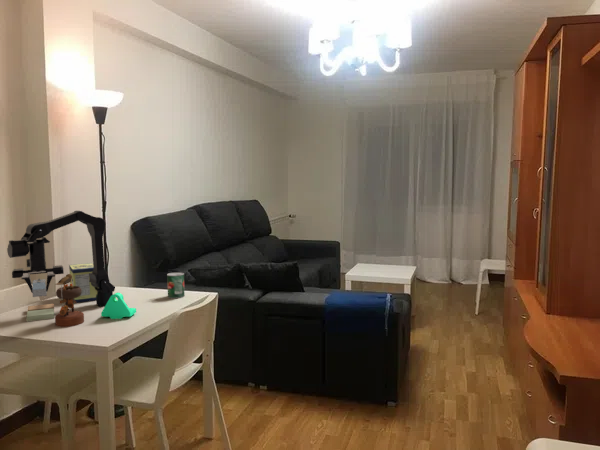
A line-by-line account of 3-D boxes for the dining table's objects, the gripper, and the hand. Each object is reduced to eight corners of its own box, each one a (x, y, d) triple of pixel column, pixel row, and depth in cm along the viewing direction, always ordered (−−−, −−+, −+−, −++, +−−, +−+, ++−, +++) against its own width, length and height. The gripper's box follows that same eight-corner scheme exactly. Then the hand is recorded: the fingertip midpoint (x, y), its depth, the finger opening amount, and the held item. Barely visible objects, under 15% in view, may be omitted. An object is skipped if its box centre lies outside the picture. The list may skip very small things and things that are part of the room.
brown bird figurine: (80, 327, 202) (73, 276, 200) (50, 330, 200) (42, 279, 198) (90, 316, 217) (83, 268, 215) (62, 319, 215) (55, 272, 213)
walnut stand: (54, 308, 231) (53, 303, 230) (54, 311, 224) (53, 307, 224) (28, 310, 226) (28, 306, 226) (27, 314, 220) (27, 310, 220)
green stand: (54, 313, 222) (53, 308, 222) (54, 318, 214) (54, 313, 214) (27, 315, 218) (27, 311, 218) (26, 321, 210) (26, 316, 210)
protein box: (93, 293, 258) (91, 262, 256) (98, 300, 244) (97, 267, 243) (70, 296, 252) (68, 264, 251) (74, 303, 239) (72, 269, 237)
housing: (46, 295, 213) (45, 280, 213) (32, 297, 211) (31, 282, 211) (46, 292, 220) (45, 277, 219) (33, 293, 218) (32, 278, 217)
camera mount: (137, 314, 221) (136, 290, 220) (130, 319, 213) (129, 294, 212) (109, 313, 221) (108, 290, 220) (101, 319, 214) (100, 294, 213)
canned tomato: (164, 297, 250) (163, 274, 248) (176, 293, 256) (175, 271, 255) (176, 299, 245) (175, 276, 244) (188, 295, 252) (187, 273, 251)
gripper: (62, 250, 225) (64, 285, 226) (12, 253, 217) (15, 290, 219) (62, 253, 215) (64, 291, 216) (10, 257, 207) (13, 296, 209)
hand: (39, 292), depth 215 cm, fingers closed on housing, 5 cm apart
